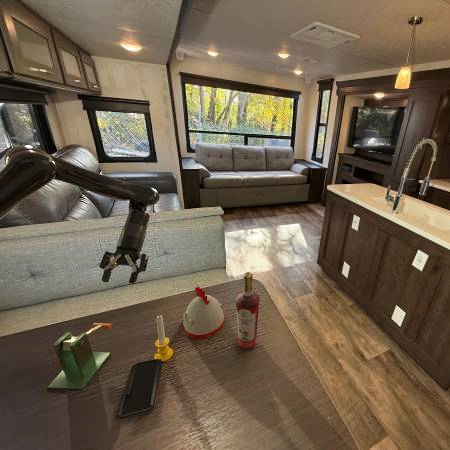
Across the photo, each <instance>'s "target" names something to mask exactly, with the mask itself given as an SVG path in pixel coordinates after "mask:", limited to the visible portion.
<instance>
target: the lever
mask: <svg viewBox="0 0 450 450" xmlns="http://www.w3.org/2000/svg"><path fill="white" fill-rule="evenodd" d="M112 327H113V324H112V323H101V322H99V323H98V322H93V323H92V325H91V329H90V330H88V331H86V332H85V333H86V334H87V337H88V338H89V337H90V336H92V335H94V334H96V333H97V332H99V331H101V330H103V329H104V330H106V329H107V330H110V329H111V328H112ZM77 337H78V336H72V337H71V338H69V339H67V340H65V341H63V350H64V351H71V350H70V347H69V345H70V344H71V343H72V342H73V341H74V340H75V339H76V338H77Z"/></svg>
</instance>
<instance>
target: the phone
mask: <svg viewBox="0 0 450 450" xmlns="http://www.w3.org/2000/svg"><path fill="white" fill-rule="evenodd" d="M162 368H163V362H162V360H161V359H154V358H153V359H150V360H145V361H140V362H135V363H134V364H132V366H131V367H130V372H129V375H128V378H127V382H126V385H125V390H124V393H123V397H122V400H121V405H120V408H119V411H118V417H119V419H125V418H128V419H130V418H134V417H135V418H136V417H138V416H142V415H145V414H149V413H151V412H153V411H154V410H155V409H156V403H157V398H158V393H159V386H160V379H161V374H162Z"/></svg>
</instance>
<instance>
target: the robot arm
mask: <svg viewBox="0 0 450 450" xmlns="http://www.w3.org/2000/svg"><path fill="white" fill-rule="evenodd" d="M3 161H4V163H5V167H4V168H2V170H1V171H0V220H2V219H3V218H4V217H5V216H7V215H8V214H9V213H10V212H11V211H12V210H13V209H14V208H15V207H17V206H18V205H19V204H20V203H22V202H23V201H24V200H26V199H27V198H29V197H30V196H31V195H33V194H35V193H36V192H38V191H39V190H41V189H43V188H44V187H46V186H47V185H49V184H50V183H51V182H52V181H53V180H54V181H59V182H63V183H66V184H69V185H72V186H74V187H78V188H80V189H83V190H84V191H87V192H89V193H92V194H95V195H97V196H101V197H105V198H108V199H112V200H115V201H120V202H126V201H128V213H127V216H126V219H125V223H124V225H123V227H122V229H121V231H120V235H119V237H118V240H117V243H116V247H115V248H116V250H115V251H114V252H111V251H108V250H106V251H105V252H104V253H103V256H102V258H101V261H100V263H99V266H98V267H99V269H102V270H103V274H102V275H101V281H102V283H109V281H110V279H111V275H112V273H113V272H112V271H113V270H115V268H119V266H121V267H122V266H127V267H130V268H131V270H132V271H131V272H130V276H129V280H128V284H131V285H134V284H135V283H137V281H138V277H139V274H140V273H142V272H146V271H147V267H148V262H149V257H150V256H149V255H148V254H147V253H141V252H142V250H143V247H144V246H143V245H144V243H145V239H146V236H147V230H148V226H149V224H150V223H149V222H150V219H151V215H150V213H149V212H147V210H148V207H152V206H155V205H156V204H158V202H159V201H160V198H161V197H160V194H159V192H158V191H157V190H156V189H154V188H153V187H151V186H147V185H143V184H142V185H141V184H137V183H130V182H126V181H123V180H122V179H121V180H120V179H118V178H114V177H111V176H108V175H105V174H102V173H99V172H95V171H92V170H90V169H87V168H83V167H82V166H81V167H80V166H78V165H76V164H73V163H70V162H68V161H65V160H64V159H61V158H59V157H56V156H54V155H52V154H50V153H48V152H46V151H44V150H42V149H40V148H38V147H35V146H31V145H16V146H13V147H11V148H9V149H8V150H7V151H6V152H5V154H4V160H3ZM138 260H140V261H139V264H138V262H137V261H138Z"/></svg>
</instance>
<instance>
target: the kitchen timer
mask: <svg viewBox="0 0 450 450" xmlns="http://www.w3.org/2000/svg"><path fill="white" fill-rule="evenodd" d="M194 291H195V293H196V297H194V298H193V299H192V300H191V301H190V303H189V304H188V306H187V308H186V310H185V312H183V316H182V317H183V330H184V332H185V334H186V335H187V336H188V337H190V338H193V339H206V337H207V338H209V337H212V336H214V335H216V334H217V333H218V332H219V331H220V330H221V329H222V328H223V327H224V325H223V324H225V314H224V311H223V304H222V303H221V302H220V301H219V299H218V298H216V297H213V296H212V295H209V294H206V291H205V290H203V288H201V287H200V286H197V287H194Z"/></svg>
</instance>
